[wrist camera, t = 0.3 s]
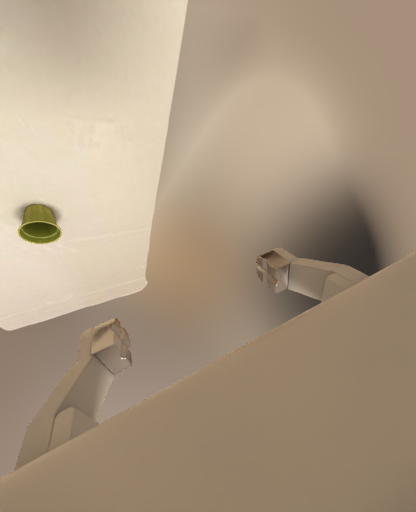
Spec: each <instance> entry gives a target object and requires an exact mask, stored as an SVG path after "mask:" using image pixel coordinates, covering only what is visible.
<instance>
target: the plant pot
mask: <svg viewBox="0 0 416 512" xmlns="http://www.w3.org/2000/svg"><path fill="white" fill-rule="evenodd" d="M18 235H19V236H20V237H21V238H22V239H23V240H25V241H28V242H30V243H35V244H47V243H51V242H54V241H56V240H58V239H59V238H60V237H61V235H62V231H61V229H60V227H59V226H58V225H57V224H56V222H55V219H54V216H53V213H52V211H51V210H50V209H49V208H48V207H46V206H43V205H30V206H28V207H27V208H26V209H25V214H24V219H23V223H22V225H21V226H20V227H19V229H18Z"/></svg>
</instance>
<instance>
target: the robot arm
mask: <svg viewBox="0 0 416 512" xmlns="http://www.w3.org/2000/svg"><path fill="white" fill-rule="evenodd" d="M256 263H257V264H259V265H258V267H257V273H258V276H259V278H260V279H261V281H263V282H264V283H268V287H269V288H270V289H271V290H272V291H273V292H274V293H276V294H277V293H279V292H281V291H283V290H285V289H287V288H288V289H290V290H293V291H296V292H298V293H301V294H304V295H307V296H310V297H312V298H315V299H318V300H321V304H319V305H317V306H315V307H313V308H311V309H310V310H308V311H306V312H304V313H302V314H300V315H299V316H297V317H295V318H293V319H291V320H289V321H288V322H286V323H284V324H282V325H280V326H278V327H277V328H275V329H273V330H271V331H269V332H268V333H266V334H264V335H262V336H260V337H259V338H257V339H255V340H253V341H251V342H249V343H247V344H246V345H244V346H242V347H240V348H238V349H236V350H235V351H233V352H231V353H229V354H227V355H225V356H224V357H222V358H220V359H218V360H216V361H214V362H213V363H211V364H209V365H207V366H205V367H204V368H202V369H200V370H198V371H196V372H194V373H192V374H191V375H189V376H187V377H185V378H183V379H182V380H180V381H178V382H176V383H174V384H172V385H170V386H169V387H167V388H165V389H163V390H161V391H160V392H158V393H156V394H154V395H152V396H150V397H148V398H147V399H145V400H143V401H141V402H139V403H137V404H136V405H134V406H132V407H130V408H128V409H126V410H125V411H123V412H121V413H119V414H117V415H115V416H114V417H112V418H110V419H108V420H106V421H104V422H103V423H101V424H99V423H97V422H96V421H95V420H96V417H97V415H98V413H99V411H100V408H101V406H102V404H103V401H104V399H105V397H106V394H107V392H108V390H109V387H110V385H111V382H112V380H113V378H114V375H115V374H116V373H118V372H120V371H122V370H124V369H126V368H128V367H129V366H132V361H131V353H130V351H129V350H128V349H129V347H130V339H129V336H128V333H127V331H126V330H125V328H123V327H121V326H120V321H118V319H117V318H114V319H112V320H109V321H107V322H104V323H102V324H99V325H97V326H95V327H93V328H90V329H88V330H85V331H83V333H82V335H81V341H80V347H79V353H78V359H77V362H76V363H74V364H73V365H72V366H71V368H70V369H69V371H68V372H67V373H66V375H65V376H64V378H63V379H62V380H61V382H60V383H59V384H58V386H57V387H56V389H55V390H54V391H53V393H52V394H51V395H50V397H49V398H48V400H47V401H46V402H45V404H44V405H43V407H42V408H41V409H40V411H39V412H38V414H37V415H36V416H35V418H34V419H33V420H32V422H31V423H30V425H29V426H28V427H27V430H26V434H25V437H24V440H23V443H22V447H21V450H20V453H19V456H18V460H17V463H16V466H15V470H14V471H13V472H11V473H9V474H7V475H5V476H4V477H2V478H0V512H416V252H414V253H412V254H410V255H409V256H407V257H405V258H403V259H401V260H399V261H397V262H396V263H394V264H392V265H390V266H388V267H386V268H385V269H383V270H381V271H379V272H377V273H375V274H374V275H372V276H370V277H369V276H367V275H365V274H363V273H361V272H359V271H357V270H355V269H353V268H351V267H350V266H348V265H342V264H336V263H330V262H323V261H317V260H310V259H303V258H301V259H299V258H297V257H295V256H294V255H292V254H290V253H289V252H287V251H286V250H284V249H282V248H280V247H277V248H275V249H273V250H271V251H269V252H267V253H264V254H262V255H260V256H257V258H256Z"/></svg>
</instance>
